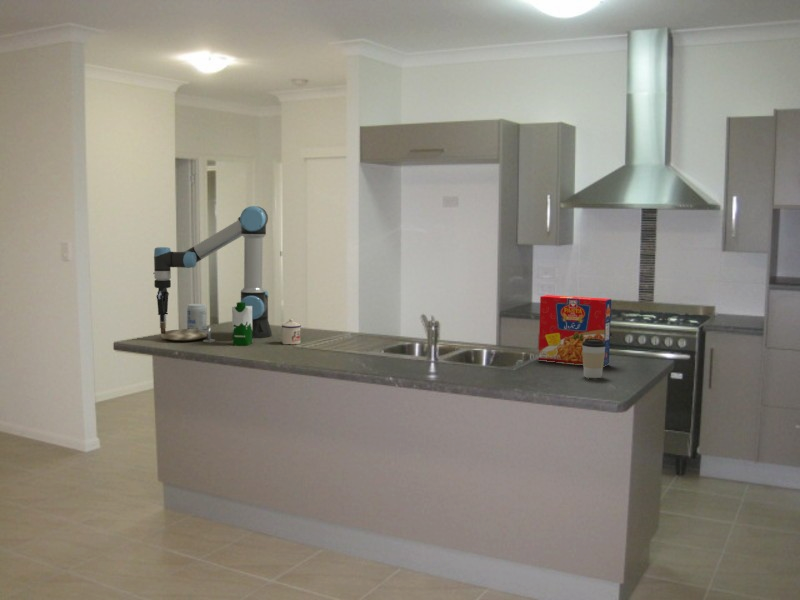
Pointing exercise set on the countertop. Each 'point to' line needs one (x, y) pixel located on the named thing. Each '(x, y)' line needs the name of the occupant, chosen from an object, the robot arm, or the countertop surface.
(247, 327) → the milk carton
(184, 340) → the turntable base
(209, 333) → the dial pointer stand
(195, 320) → the supplement tub
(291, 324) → the teacup with lid
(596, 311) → the pasta box
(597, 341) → the coffee cup
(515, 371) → the countertop surface
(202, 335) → the lazy susan platter
